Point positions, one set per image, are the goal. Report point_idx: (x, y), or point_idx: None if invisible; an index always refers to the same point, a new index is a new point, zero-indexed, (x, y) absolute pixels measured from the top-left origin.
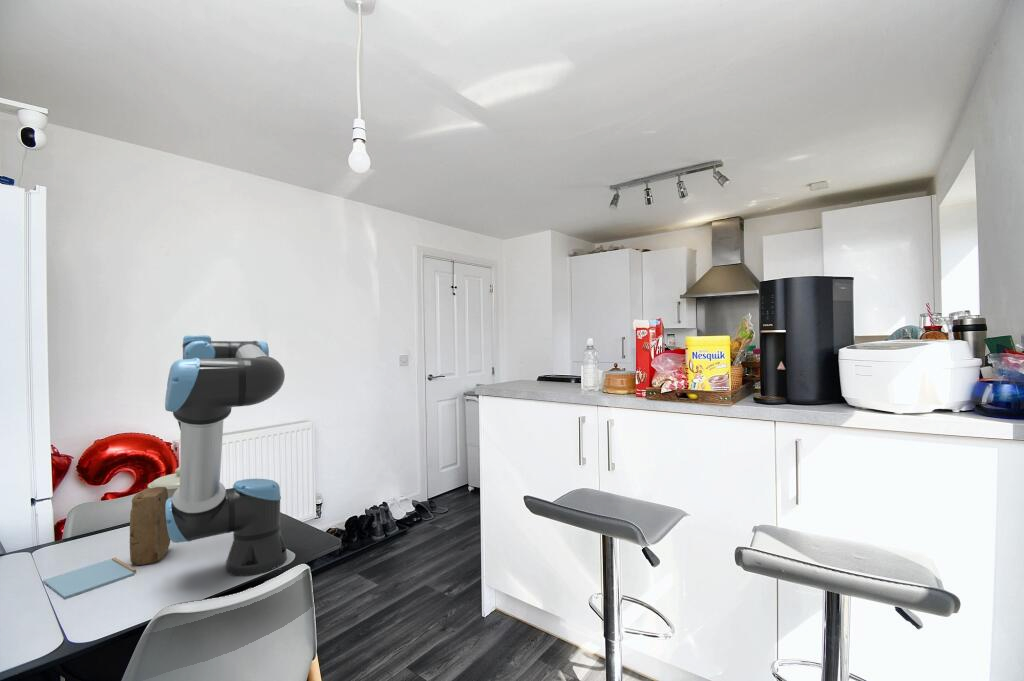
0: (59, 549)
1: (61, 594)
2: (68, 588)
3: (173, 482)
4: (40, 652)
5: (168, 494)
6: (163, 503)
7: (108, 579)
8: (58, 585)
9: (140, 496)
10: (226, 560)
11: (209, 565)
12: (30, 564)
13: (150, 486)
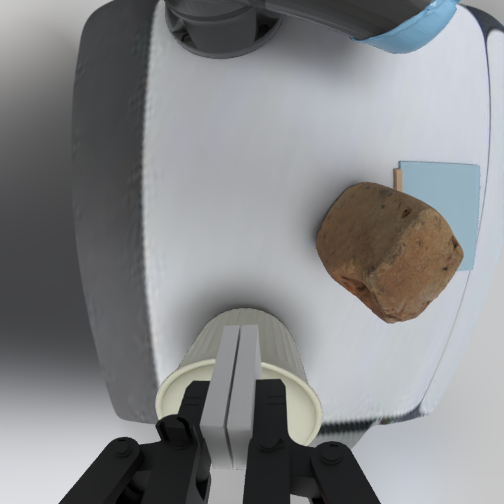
0: (401, 393)
1: (479, 180)
2: (470, 195)
3: None
4: (500, 39)
5: (293, 370)
6: (379, 226)
7: (432, 173)
8: (472, 224)
9: (452, 247)
10: (277, 23)
11: (291, 74)
12: (444, 359)
13: (313, 429)
